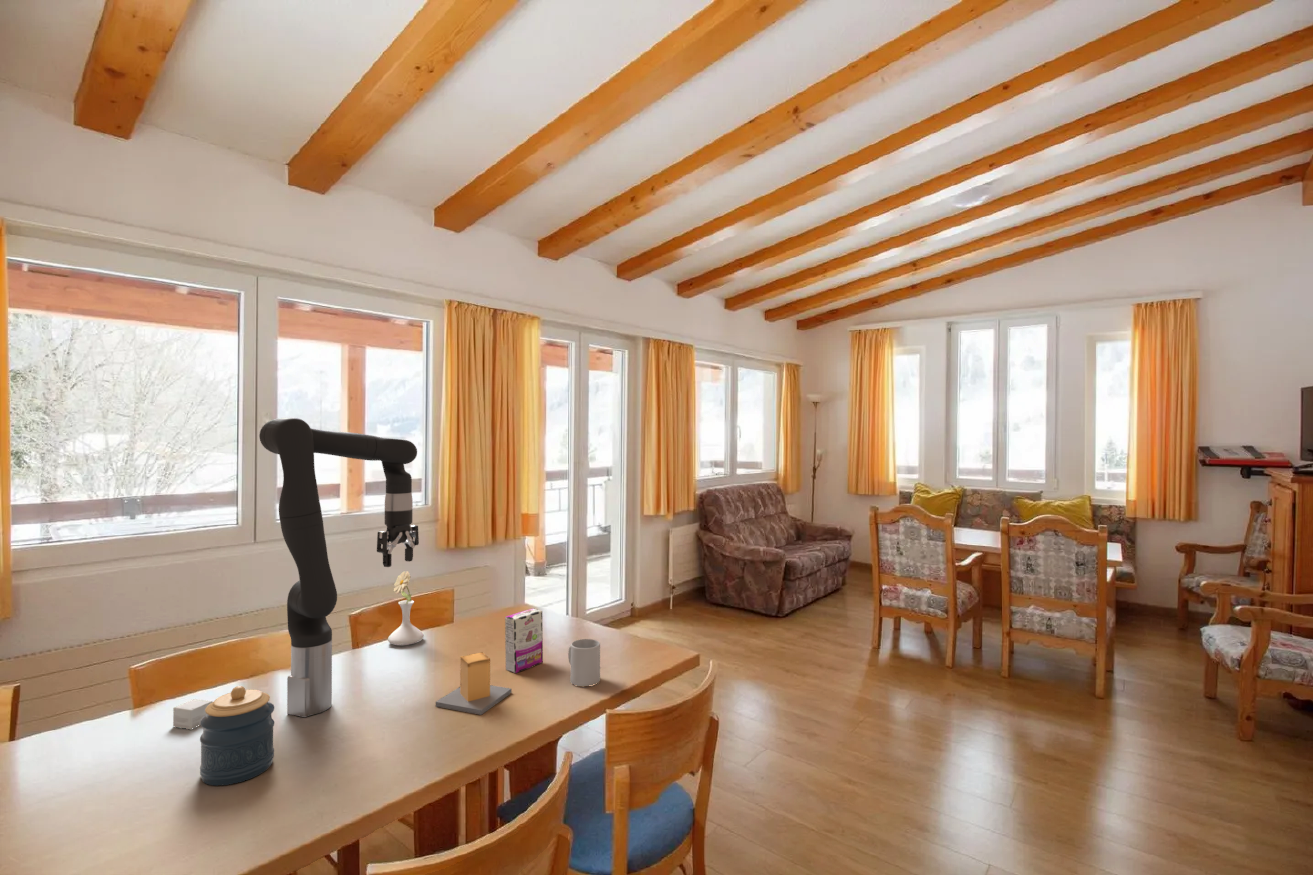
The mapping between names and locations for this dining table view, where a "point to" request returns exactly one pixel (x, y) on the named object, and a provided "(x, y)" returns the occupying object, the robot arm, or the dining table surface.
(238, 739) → the canister
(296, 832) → the dining table surface
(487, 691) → the upright tan block
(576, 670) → the mug
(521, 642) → the candy bar box
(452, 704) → the peg plate
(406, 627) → the flower in vase
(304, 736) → the dining table surface
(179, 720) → the small box
